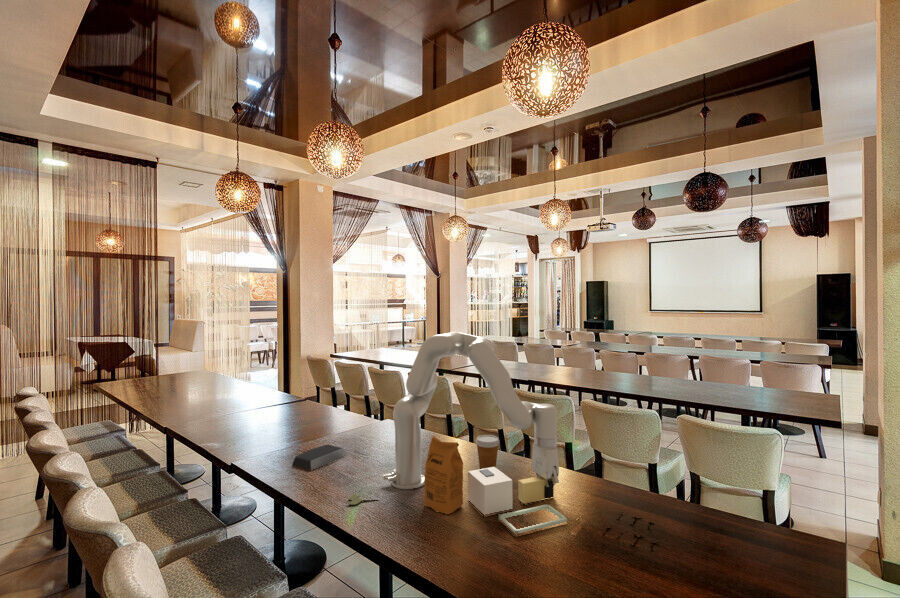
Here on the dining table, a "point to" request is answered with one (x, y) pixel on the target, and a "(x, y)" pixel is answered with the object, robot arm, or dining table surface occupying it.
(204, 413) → the dining table surface
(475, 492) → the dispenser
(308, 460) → the dark grey ingot block
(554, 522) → the tray
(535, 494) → the pale yellow paper bar
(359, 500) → the green leaf
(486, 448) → the disposable coffee cup
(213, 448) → the dining table surface
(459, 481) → the coffee package
